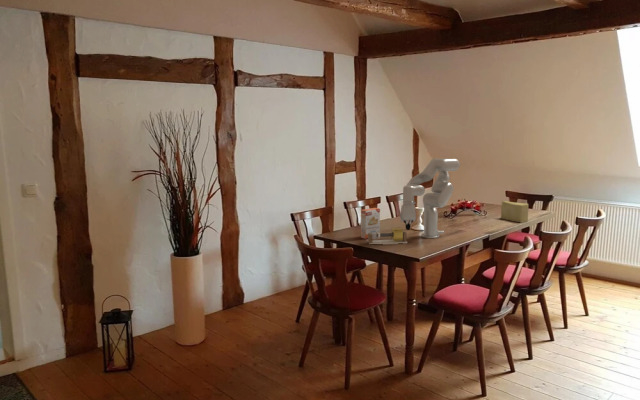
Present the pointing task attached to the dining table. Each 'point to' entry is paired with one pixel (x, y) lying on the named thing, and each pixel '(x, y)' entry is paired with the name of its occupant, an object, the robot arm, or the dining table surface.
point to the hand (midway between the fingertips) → (407, 229)
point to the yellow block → (397, 234)
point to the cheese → (514, 211)
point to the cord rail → (374, 235)
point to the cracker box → (370, 221)
